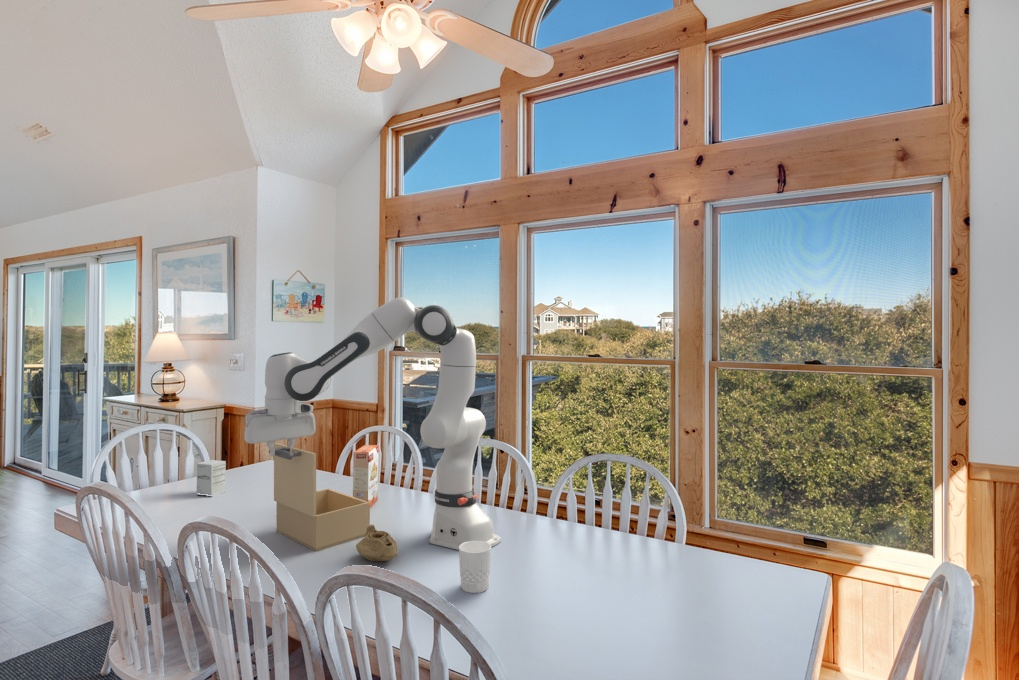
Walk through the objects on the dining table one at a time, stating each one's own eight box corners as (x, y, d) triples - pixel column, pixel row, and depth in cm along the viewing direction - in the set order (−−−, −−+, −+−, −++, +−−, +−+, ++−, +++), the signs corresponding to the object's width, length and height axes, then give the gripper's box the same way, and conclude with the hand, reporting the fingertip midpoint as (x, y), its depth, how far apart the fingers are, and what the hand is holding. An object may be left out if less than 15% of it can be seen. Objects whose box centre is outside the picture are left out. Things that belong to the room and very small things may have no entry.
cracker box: (369, 511, 195) (369, 451, 195) (352, 511, 195) (352, 451, 195) (379, 499, 209) (379, 444, 209) (363, 499, 209) (363, 444, 209)
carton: (369, 534, 172) (369, 502, 172) (316, 551, 158) (316, 516, 158) (328, 518, 188) (328, 488, 188) (276, 531, 174) (276, 500, 174)
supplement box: (195, 495, 214) (195, 463, 214) (211, 490, 221) (211, 459, 221) (211, 497, 211) (211, 464, 211) (226, 492, 219) (226, 460, 218)
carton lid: (316, 453, 158) (298, 456, 154) (316, 516, 158) (298, 521, 154) (276, 442, 174) (259, 445, 170) (276, 500, 174) (259, 503, 170)
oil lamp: (380, 572, 144) (380, 542, 144) (347, 557, 154) (347, 529, 154) (413, 559, 153) (413, 530, 153) (379, 546, 162) (379, 519, 162)
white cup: (474, 577, 141) (474, 538, 141) (497, 586, 136) (497, 545, 136) (452, 588, 135) (452, 547, 135) (475, 597, 130) (475, 555, 130)
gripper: (250, 412, 153) (250, 462, 153) (318, 405, 168) (318, 451, 168) (240, 410, 157) (240, 458, 157) (307, 403, 172) (307, 448, 172)
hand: (281, 454), depth 163 cm, fingers open, 3 cm apart
